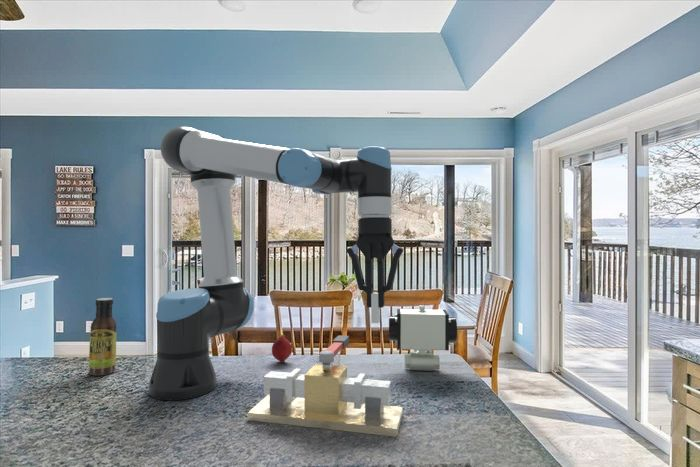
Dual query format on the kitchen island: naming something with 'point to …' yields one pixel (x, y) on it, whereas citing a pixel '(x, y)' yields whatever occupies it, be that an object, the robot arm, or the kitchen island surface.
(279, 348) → the onion
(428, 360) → the ball valve
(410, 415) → the kitchen island surface
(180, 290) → the robot arm
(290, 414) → the valve pipe
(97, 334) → the sauce bottle
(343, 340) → the lever
